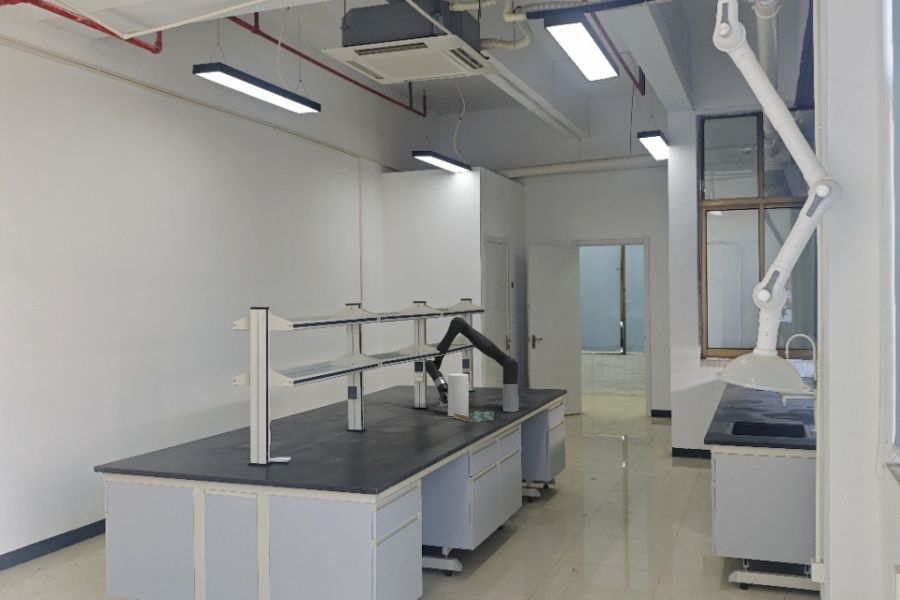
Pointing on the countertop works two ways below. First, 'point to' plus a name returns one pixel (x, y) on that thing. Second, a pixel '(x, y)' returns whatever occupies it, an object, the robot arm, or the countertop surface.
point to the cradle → (476, 416)
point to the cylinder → (458, 394)
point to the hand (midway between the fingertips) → (453, 408)
